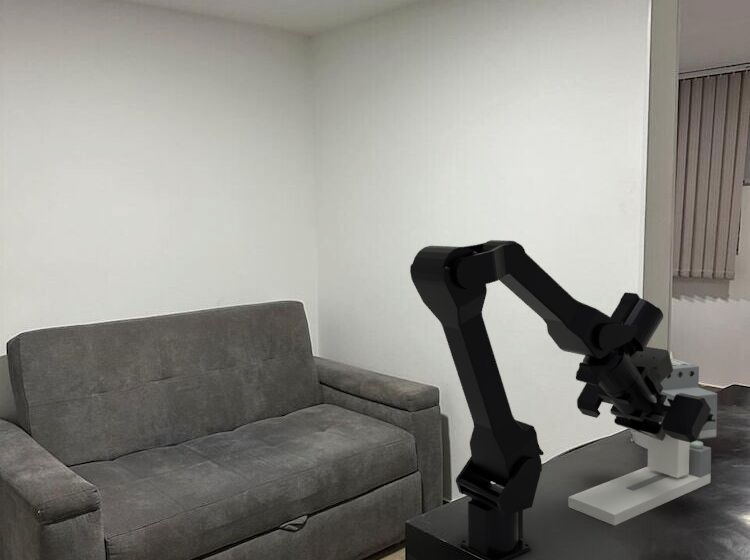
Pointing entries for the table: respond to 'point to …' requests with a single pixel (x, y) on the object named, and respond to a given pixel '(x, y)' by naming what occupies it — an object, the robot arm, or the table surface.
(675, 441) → the handle
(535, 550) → the table surface
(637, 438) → the circuit breaker
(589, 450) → the table surface
